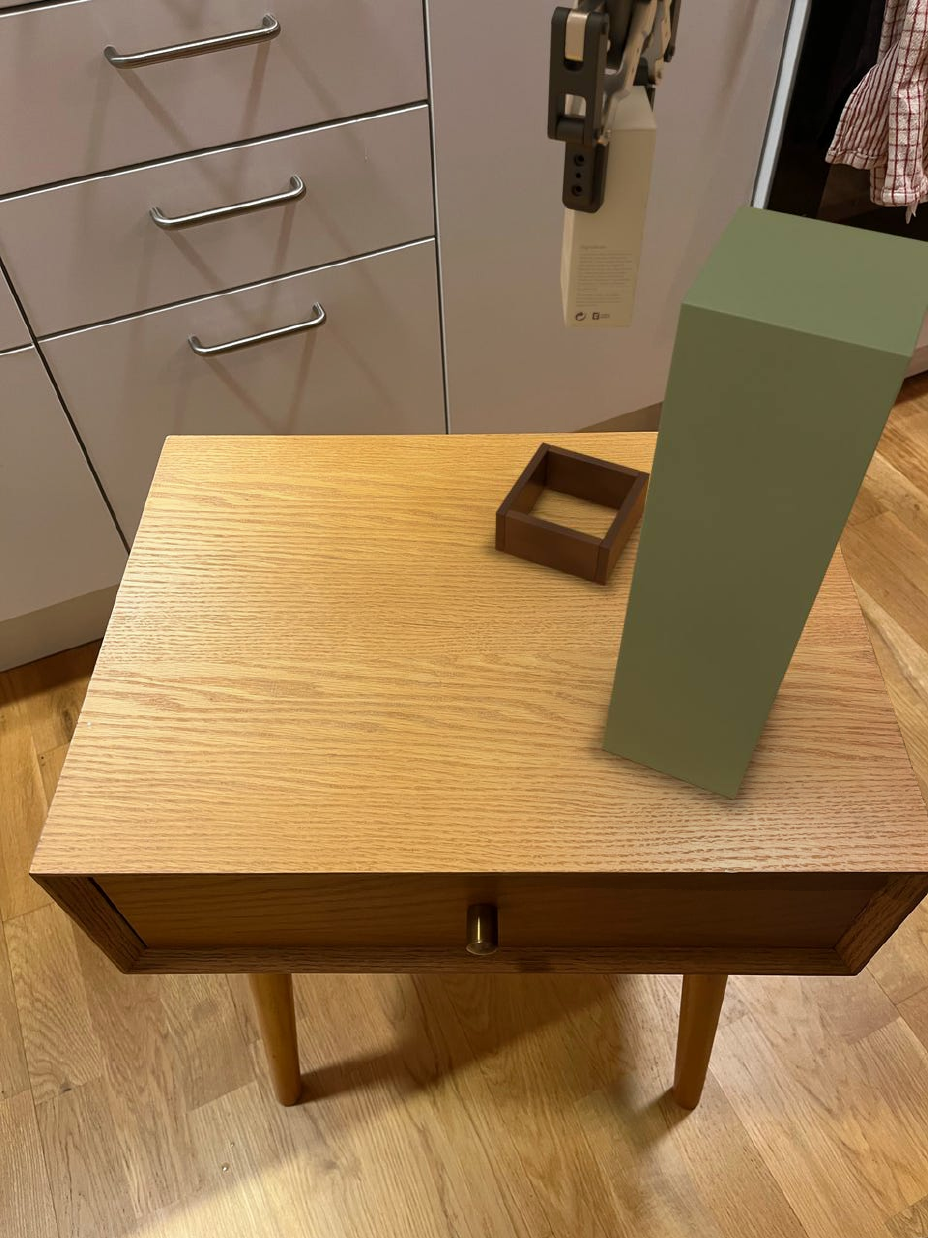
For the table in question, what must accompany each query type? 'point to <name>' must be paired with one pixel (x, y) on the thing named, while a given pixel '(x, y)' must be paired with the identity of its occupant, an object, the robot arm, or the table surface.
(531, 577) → the table surface
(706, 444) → the pedestal
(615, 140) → the cosmetic box
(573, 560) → the holder
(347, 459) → the table surface
